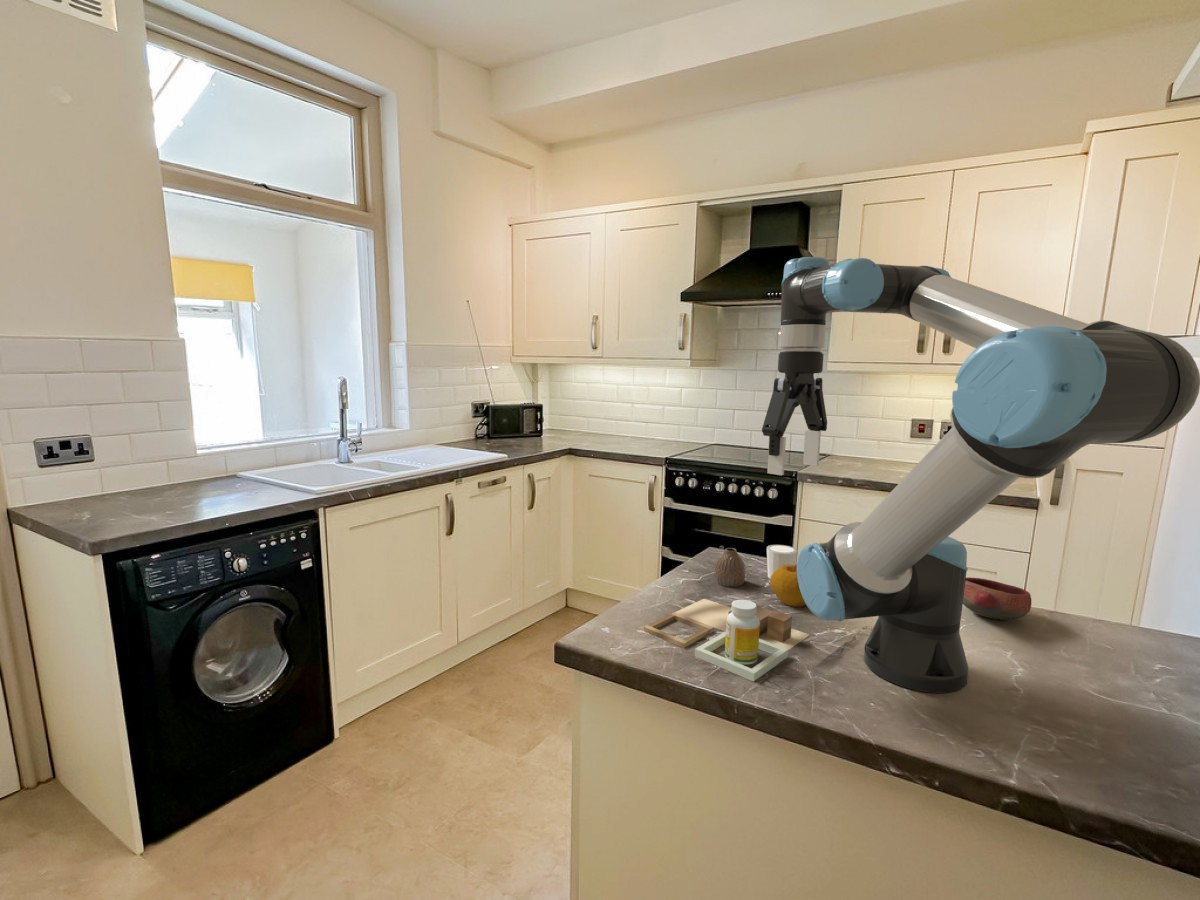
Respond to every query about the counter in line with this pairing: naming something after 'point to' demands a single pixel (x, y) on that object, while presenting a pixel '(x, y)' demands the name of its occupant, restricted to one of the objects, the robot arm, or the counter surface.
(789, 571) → the apple
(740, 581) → the vase
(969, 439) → the robot arm
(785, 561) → the white cylinder
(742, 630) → the supplement bottle
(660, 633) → the oak collar
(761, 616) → the walnut block
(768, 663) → the tray
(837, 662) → the counter surface
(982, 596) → the bowl
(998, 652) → the counter surface
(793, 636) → the board
